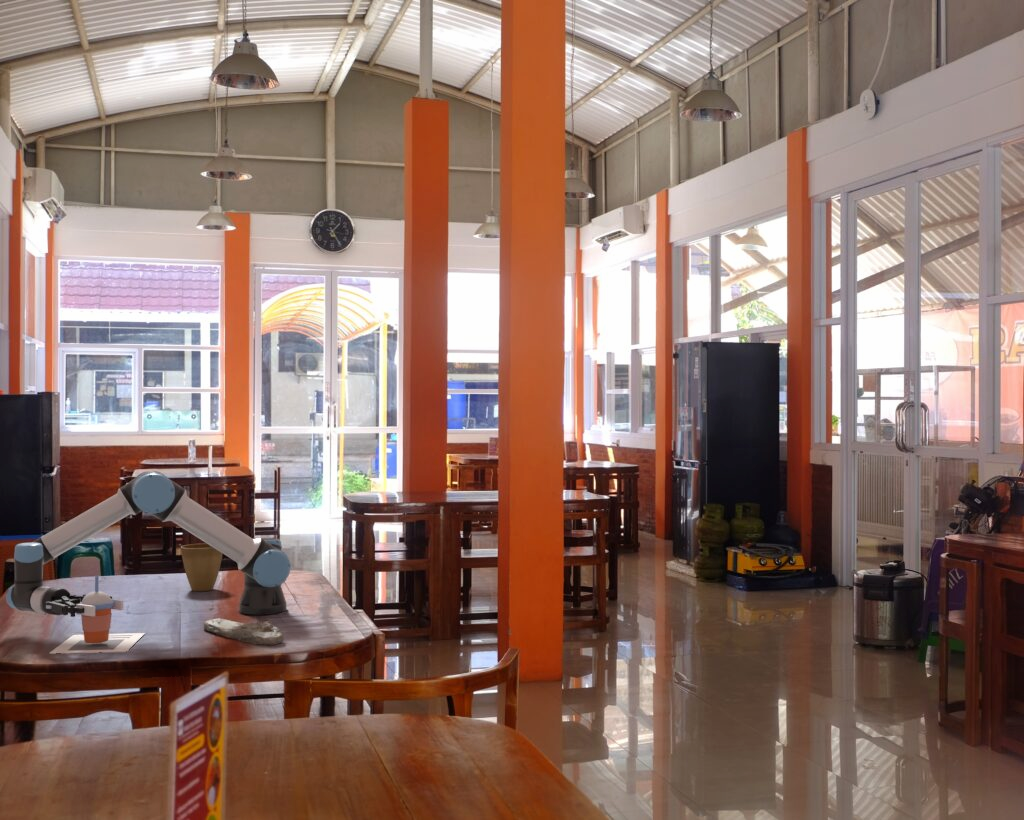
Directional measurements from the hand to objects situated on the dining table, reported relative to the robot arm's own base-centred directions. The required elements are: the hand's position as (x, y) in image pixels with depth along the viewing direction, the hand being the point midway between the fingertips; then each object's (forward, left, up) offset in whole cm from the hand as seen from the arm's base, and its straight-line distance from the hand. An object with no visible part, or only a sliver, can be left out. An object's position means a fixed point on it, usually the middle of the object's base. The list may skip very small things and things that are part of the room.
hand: (108, 608), depth 287 cm
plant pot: (-10, -90, -11) cm, 91 cm away
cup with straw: (+4, -3, -10) cm, 11 cm away
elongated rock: (-35, -11, -11) cm, 38 cm away
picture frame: (+4, -6, -11) cm, 13 cm away
